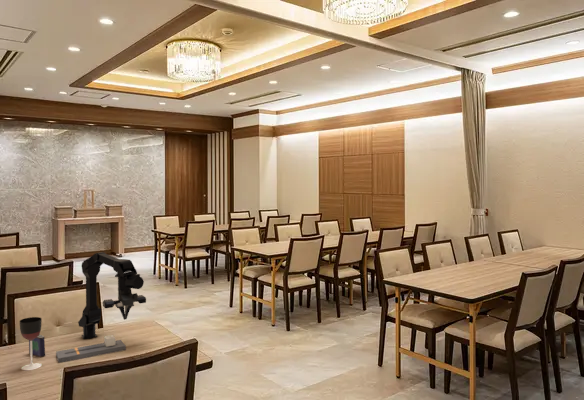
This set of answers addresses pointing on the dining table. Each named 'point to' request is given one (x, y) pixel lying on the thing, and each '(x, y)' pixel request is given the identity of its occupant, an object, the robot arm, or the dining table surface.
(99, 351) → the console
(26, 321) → the wineglass
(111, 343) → the fader tab
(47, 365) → the dining table surface
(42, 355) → the flask
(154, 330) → the dining table surface
